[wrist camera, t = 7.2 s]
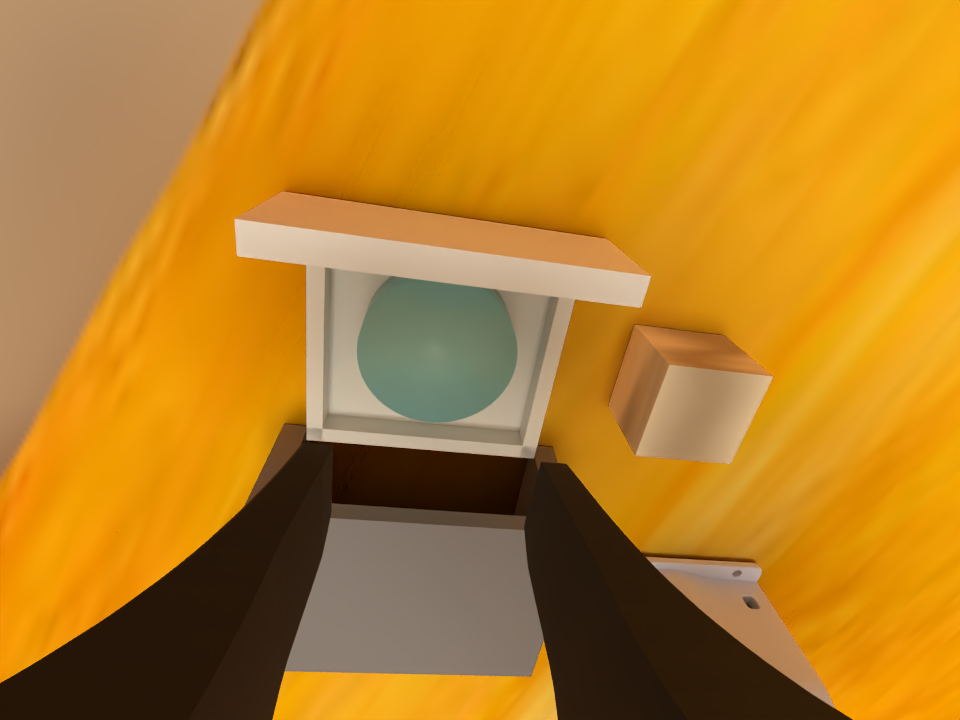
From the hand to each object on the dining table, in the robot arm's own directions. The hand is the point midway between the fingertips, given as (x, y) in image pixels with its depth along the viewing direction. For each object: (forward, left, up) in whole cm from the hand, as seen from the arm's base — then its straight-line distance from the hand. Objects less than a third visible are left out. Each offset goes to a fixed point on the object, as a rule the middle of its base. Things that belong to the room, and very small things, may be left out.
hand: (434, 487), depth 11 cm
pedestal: (-10, +1, -9) cm, 14 cm away
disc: (0, 0, -8) cm, 8 cm away
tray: (0, +1, -9) cm, 9 cm away
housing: (0, +10, -9) cm, 13 cm away
